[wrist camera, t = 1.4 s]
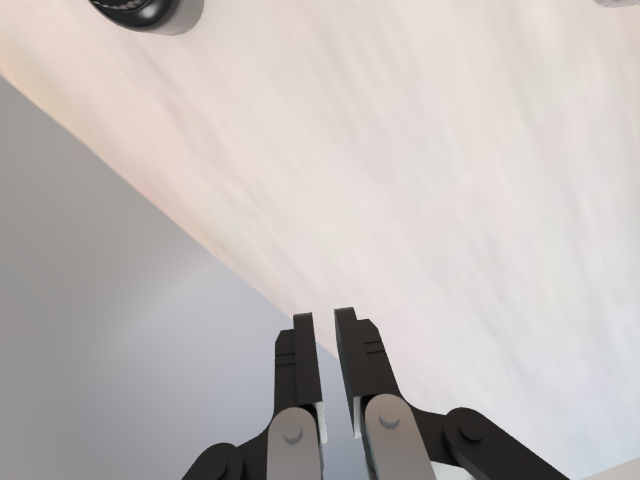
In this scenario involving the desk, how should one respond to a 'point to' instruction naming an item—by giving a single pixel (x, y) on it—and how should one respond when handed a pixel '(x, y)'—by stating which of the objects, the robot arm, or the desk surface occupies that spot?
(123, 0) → the supplement bottle
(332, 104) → the desk surface
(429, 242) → the desk surface
